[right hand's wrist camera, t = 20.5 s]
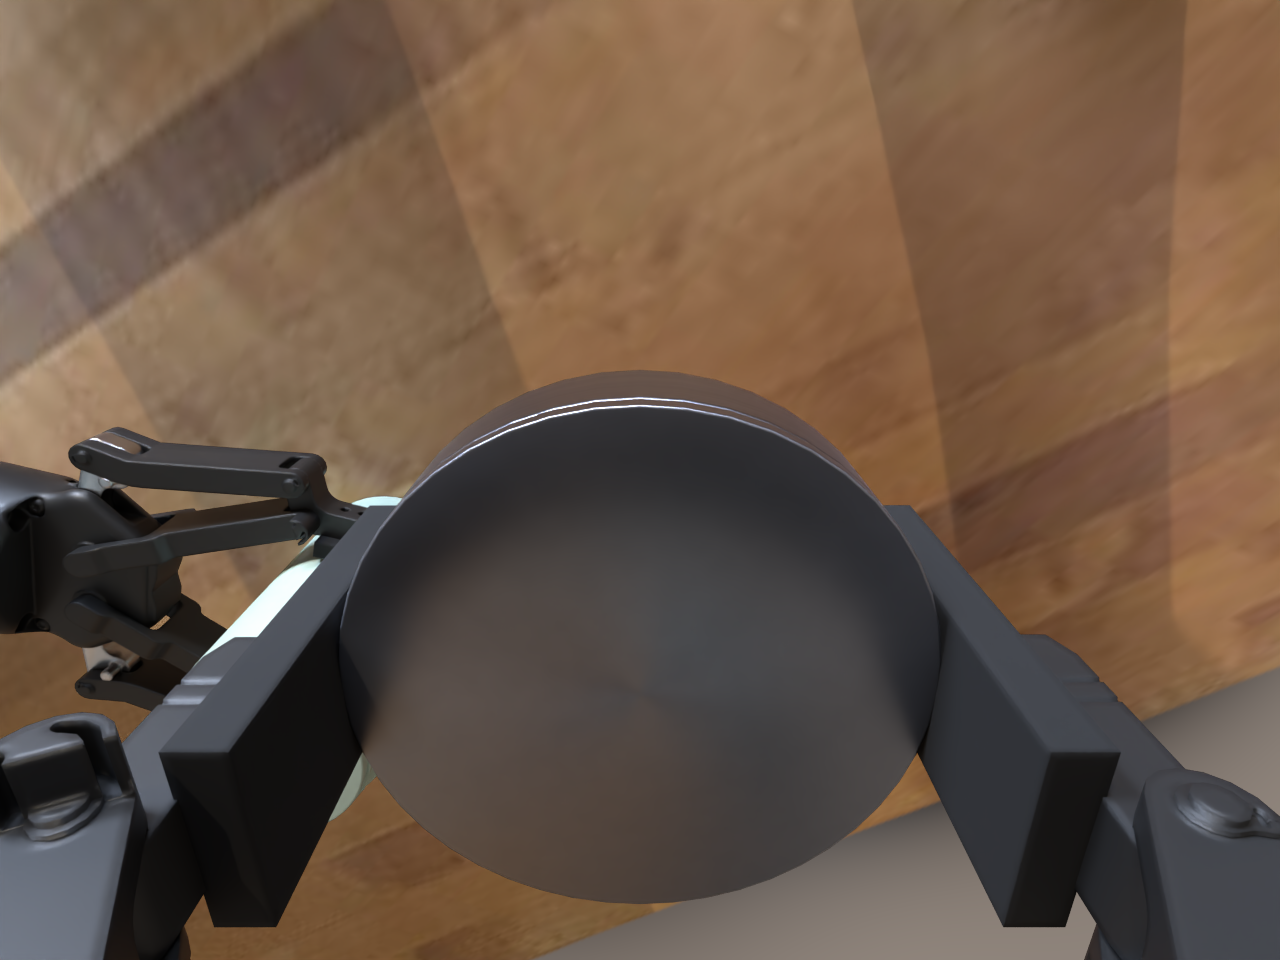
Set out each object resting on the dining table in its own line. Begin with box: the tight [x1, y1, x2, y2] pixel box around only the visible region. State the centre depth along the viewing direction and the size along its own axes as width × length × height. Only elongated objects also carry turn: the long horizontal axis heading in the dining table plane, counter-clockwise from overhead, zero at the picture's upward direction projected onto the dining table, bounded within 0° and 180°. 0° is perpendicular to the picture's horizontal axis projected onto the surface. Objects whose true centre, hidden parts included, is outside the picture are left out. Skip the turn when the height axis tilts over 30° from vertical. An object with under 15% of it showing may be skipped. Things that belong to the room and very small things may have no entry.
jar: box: [194, 496, 402, 822], centre depth 34 cm, size 8×8×15 cm
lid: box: [339, 370, 941, 904], centre depth 12 cm, size 9×9×2 cm
